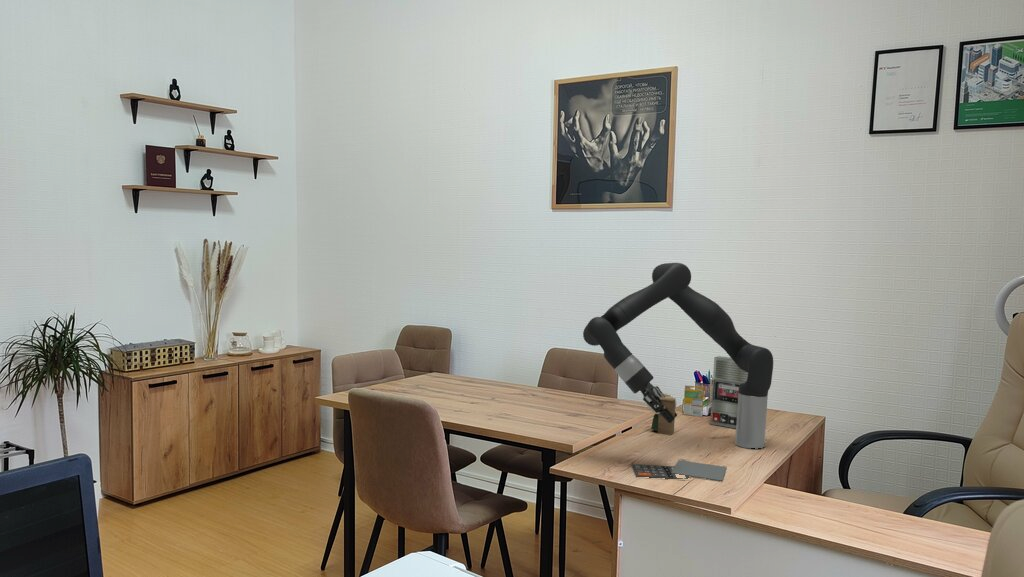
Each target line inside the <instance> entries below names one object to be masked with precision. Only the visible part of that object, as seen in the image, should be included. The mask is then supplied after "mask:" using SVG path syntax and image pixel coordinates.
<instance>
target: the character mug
mask: <svg viewBox="0 0 1024 577" xmlns="http://www.w3.org/2000/svg"><path fill="white" fill-rule="evenodd" d="M662 393H663V392H662ZM663 394H664V396H665V397H667V398H674V396H673V395H672V394H668V393H663ZM646 404H647V403H646ZM657 407H658V405H657ZM646 408H647V410H651V412H652V413H653V414H654V415H653V418H652V422H651V427H650V429H651V430H652V431H655V432H656V433H658V419H659V413H656V412H655V411H654V410H653V409H652V408H651V407H650V406H649V405H648V404H647V405H646ZM676 408H677V400H675V410H676Z"/></svg>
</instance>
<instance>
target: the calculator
mask: <svg viewBox="0 0 1024 577" xmlns="http://www.w3.org/2000/svg"><path fill="white" fill-rule="evenodd" d="M674 467H675V465H674V466H673V465H672V466H671V465H669V466H668V465H656V464H655V465H654V464H641V463H640V464H639V463H638V464H637V463H631V468H632V470H633V473H634V475H635V477H636V478H637V477H649V478H648V479H651V478H665V479H664V480H668V479H683V478H677V477H676V475H675V474H674V473H671V472H672V471H673V469H674ZM685 477H686V478H684V479H688V478H690V479H691V477H689V476H687V475H685Z"/></svg>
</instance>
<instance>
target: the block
mask: <svg viewBox="0 0 1024 577" xmlns="http://www.w3.org/2000/svg"><path fill="white" fill-rule="evenodd" d="M661 399H662V403H663V404H664V405H665V406H666V408H667V409H668V411H669V412H670V413H671V414H672V415H673V416H674V417H675V412H676V409H675V400H676V398H674V397H673V398H667V397H661ZM676 401H677V400H676ZM675 418H676V417H675ZM675 421H676V420H675V419H674V420H673V421H672V422H671V423H668V422H667V420H666V419H665V418H664V417H663V416H662V415H661V413H659V419H658V431H657V434H659V435H666V436H673V435H674V433H675Z"/></svg>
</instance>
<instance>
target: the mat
mask: <svg viewBox="0 0 1024 577" xmlns="http://www.w3.org/2000/svg"><path fill="white" fill-rule="evenodd" d="M674 466H675V467H674V469H673V471H672V472H671V473H674V474H679V475H687V476H693V477H692V478H694V477H699V478H698V479H700V478H706V479H705V480H707V479H710V480H709V481H714V480H716V482H720V481H723V480H724V478H725V476H726V475H725V474H726V472H727V471H726V470H727V466H724V465H723V466H722V465H717V464H708V463H702V462H694V461H688V460H680V459H678V460H677V461H676V463H675V465H674ZM725 471H726V472H725Z"/></svg>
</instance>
